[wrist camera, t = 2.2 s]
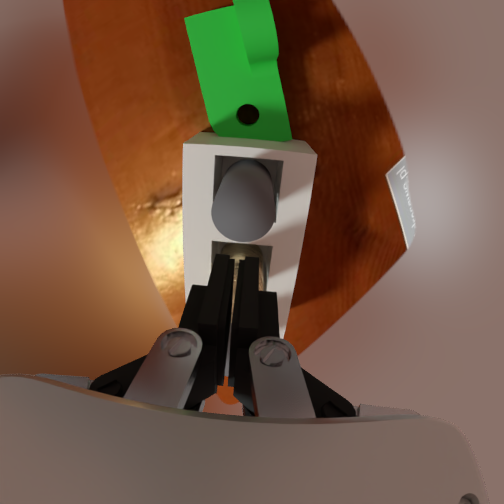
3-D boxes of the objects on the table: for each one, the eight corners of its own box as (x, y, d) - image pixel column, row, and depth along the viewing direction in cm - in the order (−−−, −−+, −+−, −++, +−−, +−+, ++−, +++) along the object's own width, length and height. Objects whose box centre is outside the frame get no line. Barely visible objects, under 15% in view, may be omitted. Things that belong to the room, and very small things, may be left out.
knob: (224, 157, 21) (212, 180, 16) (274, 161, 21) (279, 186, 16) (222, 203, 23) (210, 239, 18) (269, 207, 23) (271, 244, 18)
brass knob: (220, 236, 24) (209, 279, 19) (265, 240, 24) (266, 284, 19) (219, 273, 26) (209, 321, 21) (260, 277, 26) (260, 325, 21)
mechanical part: (189, 23, 19) (161, -4, 12) (260, 7, 19) (260, -28, 12) (220, 150, 25) (204, 172, 18) (289, 136, 24) (302, 152, 17)
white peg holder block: (199, 131, 24) (183, 143, 19) (305, 140, 24) (317, 155, 19) (198, 306, 34) (188, 344, 29) (277, 313, 34) (279, 352, 29)
